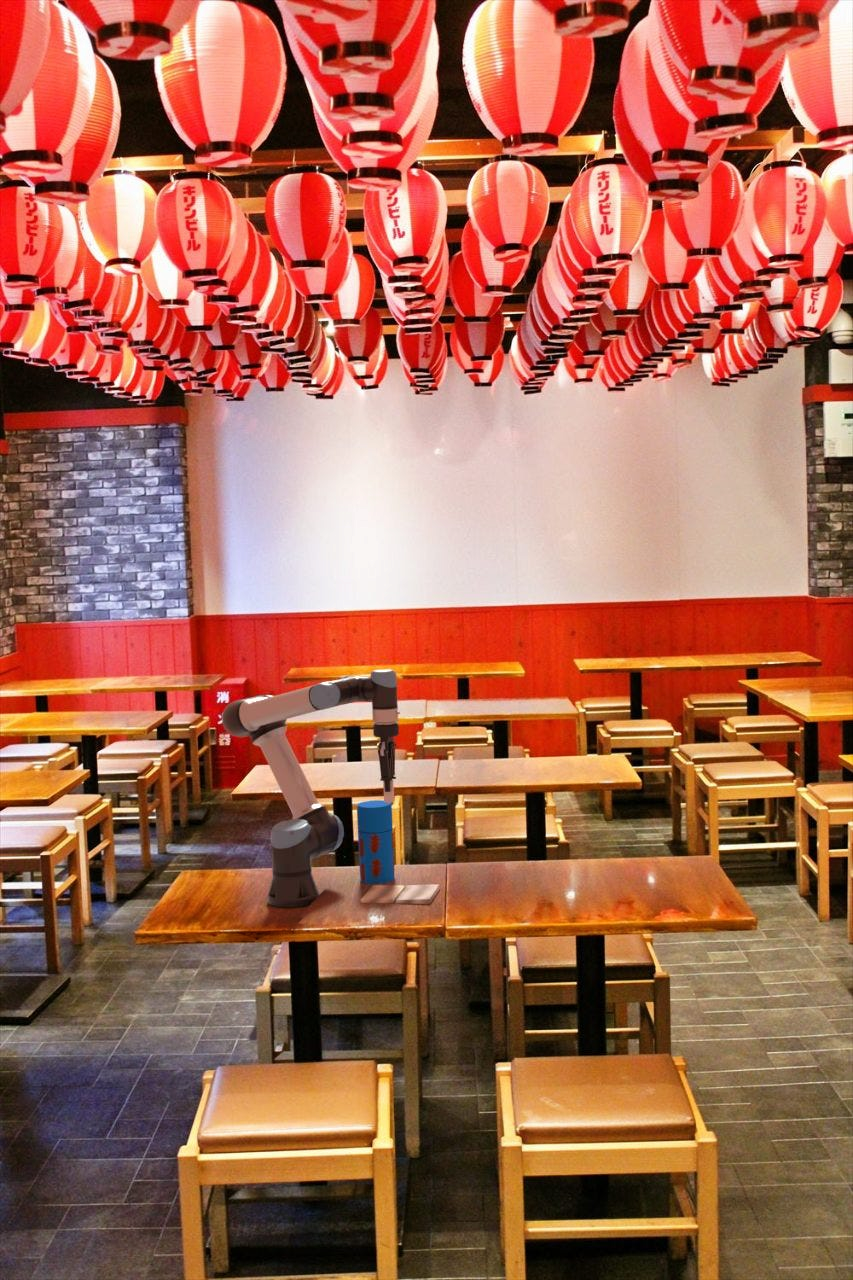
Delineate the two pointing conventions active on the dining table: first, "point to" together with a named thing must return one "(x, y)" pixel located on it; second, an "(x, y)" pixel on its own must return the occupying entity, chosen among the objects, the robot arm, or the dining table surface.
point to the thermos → (375, 841)
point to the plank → (418, 894)
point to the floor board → (382, 894)
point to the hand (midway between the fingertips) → (389, 801)
